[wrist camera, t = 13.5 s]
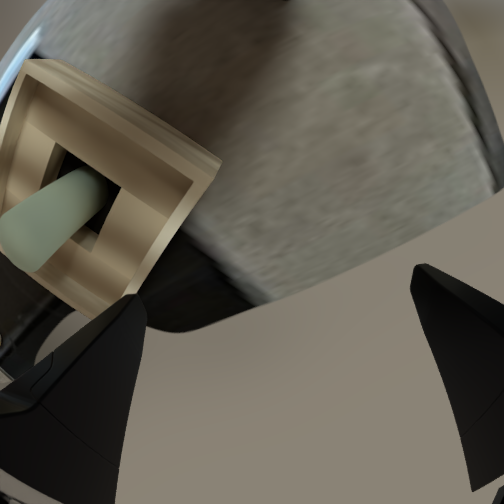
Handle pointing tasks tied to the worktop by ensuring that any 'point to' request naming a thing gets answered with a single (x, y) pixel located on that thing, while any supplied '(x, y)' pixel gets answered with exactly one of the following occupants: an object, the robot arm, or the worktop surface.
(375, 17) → the worktop surface
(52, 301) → the worktop surface
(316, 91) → the worktop surface
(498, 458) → the robot arm
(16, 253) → the peg
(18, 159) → the open-top box
